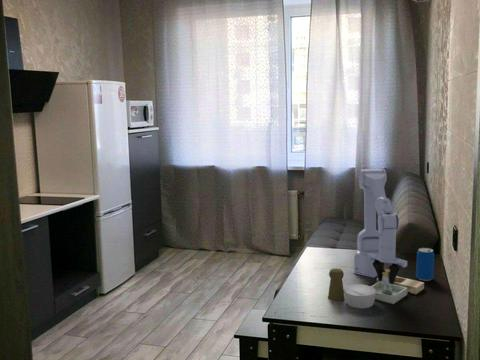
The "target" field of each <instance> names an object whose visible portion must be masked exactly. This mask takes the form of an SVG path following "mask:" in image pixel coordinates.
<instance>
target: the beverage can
mask: <svg viewBox="0 0 480 360" xmlns="http://www.w3.org/2000/svg"><path fill="white" fill-rule="evenodd" d="M434 268H435V252H434V249H432V248H430V247H421V248H418V250H417V252H416V268H415V269H416V270H415V271H416V272H415V277H416V278H417V279H418V281H421V282H423V281H424V282H429V281H432V280H434Z"/></svg>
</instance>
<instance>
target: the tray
mask: <svg viewBox="0 0 480 360" xmlns="http://www.w3.org/2000/svg"><path fill="white" fill-rule="evenodd" d="M370 286H371V287H373V288H375V290H376V295H375V300H377V301H379V302H380V301H381V302H384V303H388V304H392V305H394V304H396V303H397V302H399V301H401V300H402V299H403V298H404V297H406V296H408V292H407V288H406V287H402V286H397V285H393V294H392V295H386V294H382V293H381V281H379V282H377V281H376V282H375V283H374V284H373V285H370Z"/></svg>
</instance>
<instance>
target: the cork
mask: <svg viewBox="0 0 480 360" xmlns="http://www.w3.org/2000/svg"><path fill="white" fill-rule="evenodd" d="M328 275H329V278H330V279H329V280H330V281H329V288H328V293H327V294H328V295H327V300H329V301H331V302H343V301H345V300H346V299H345V294H344V282H343V278H344V275H345V274H344V271H343V270H342V269H340V268H331V269H330V270H329V273H328Z"/></svg>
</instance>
